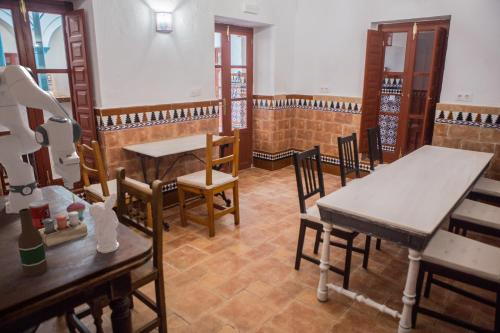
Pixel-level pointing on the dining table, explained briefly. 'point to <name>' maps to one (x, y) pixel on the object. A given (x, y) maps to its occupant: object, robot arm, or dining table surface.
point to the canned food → (39, 212)
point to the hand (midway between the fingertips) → (69, 187)
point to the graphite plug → (49, 225)
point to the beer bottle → (31, 246)
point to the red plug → (61, 222)
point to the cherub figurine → (105, 224)
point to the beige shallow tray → (63, 234)
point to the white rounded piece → (73, 219)
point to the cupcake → (76, 207)
